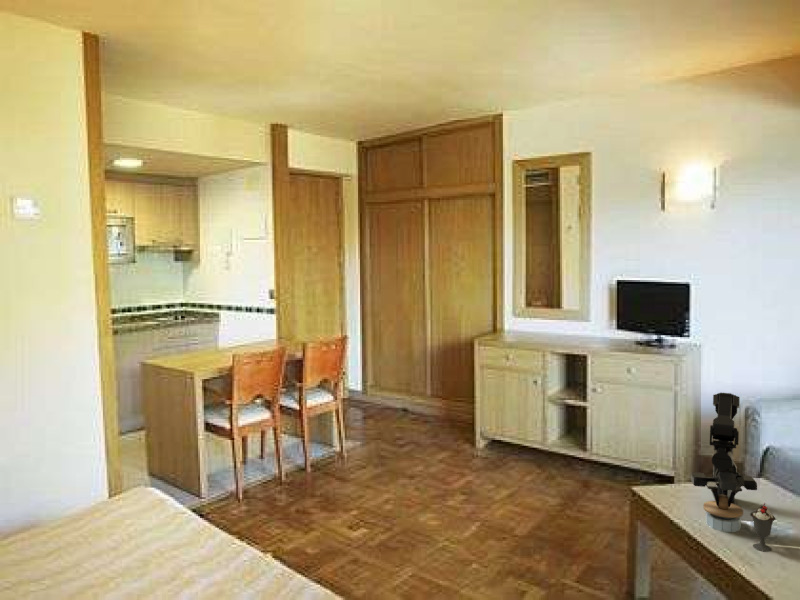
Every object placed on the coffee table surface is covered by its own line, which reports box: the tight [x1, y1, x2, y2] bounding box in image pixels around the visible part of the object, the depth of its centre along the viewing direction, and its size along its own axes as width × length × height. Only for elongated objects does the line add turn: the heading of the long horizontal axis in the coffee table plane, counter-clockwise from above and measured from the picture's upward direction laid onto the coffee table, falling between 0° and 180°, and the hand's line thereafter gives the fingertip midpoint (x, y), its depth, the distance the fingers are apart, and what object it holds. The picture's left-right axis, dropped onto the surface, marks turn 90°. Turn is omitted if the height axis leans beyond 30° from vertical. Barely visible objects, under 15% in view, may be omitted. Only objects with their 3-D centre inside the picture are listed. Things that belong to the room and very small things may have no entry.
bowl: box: [705, 511, 742, 533], centre depth 194 cm, size 10×10×4 cm
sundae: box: [750, 502, 776, 553], centre depth 179 cm, size 7×7×15 cm
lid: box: [703, 494, 744, 518], centre depth 193 cm, size 12×12×5 cm
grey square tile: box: [740, 508, 758, 522], centre depth 201 cm, size 10×10×1 cm
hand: (723, 506), depth 193 cm, fingers closed on lid, 3 cm apart
